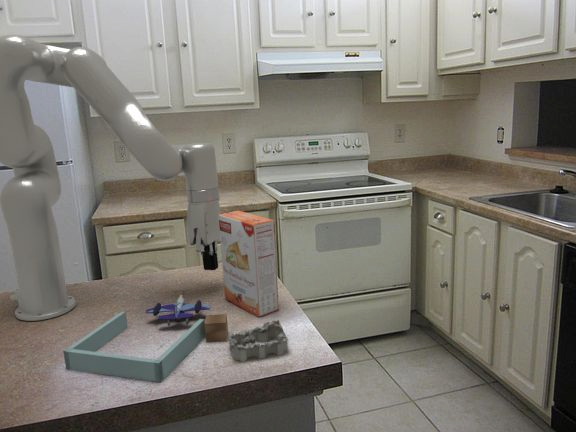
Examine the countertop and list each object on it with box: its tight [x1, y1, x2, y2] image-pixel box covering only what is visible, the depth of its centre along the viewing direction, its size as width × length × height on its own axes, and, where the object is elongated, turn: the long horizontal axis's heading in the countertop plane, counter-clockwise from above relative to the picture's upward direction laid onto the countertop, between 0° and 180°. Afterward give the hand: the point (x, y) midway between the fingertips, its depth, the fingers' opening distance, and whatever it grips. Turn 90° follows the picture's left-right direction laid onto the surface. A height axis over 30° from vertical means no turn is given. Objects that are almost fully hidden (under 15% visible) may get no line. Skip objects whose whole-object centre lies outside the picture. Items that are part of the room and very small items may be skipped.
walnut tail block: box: [204, 313, 229, 344], centre depth 95 cm, size 4×4×4 cm
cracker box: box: [219, 210, 280, 318], centre depth 108 cm, size 14×6×21 cm, turn 39°
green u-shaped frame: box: [63, 310, 206, 383], centre depth 90 cm, size 19×17×4 cm
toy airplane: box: [145, 291, 211, 326], centre depth 105 cm, size 13×14×4 cm
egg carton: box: [227, 319, 289, 362], centre depth 89 cm, size 11×8×4 cm
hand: (211, 268), depth 118 cm, fingers closed
